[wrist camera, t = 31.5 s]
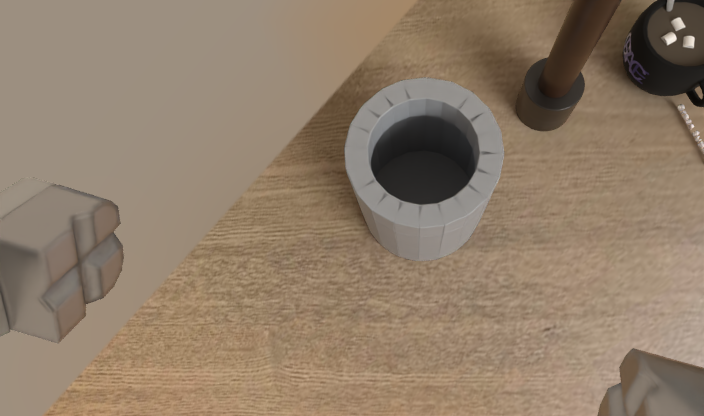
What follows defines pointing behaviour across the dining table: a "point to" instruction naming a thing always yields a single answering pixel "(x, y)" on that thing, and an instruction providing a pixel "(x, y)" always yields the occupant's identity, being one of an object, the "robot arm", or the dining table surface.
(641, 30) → the mug
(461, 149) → the gray cylindrical container
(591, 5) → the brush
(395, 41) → the dining table surface
